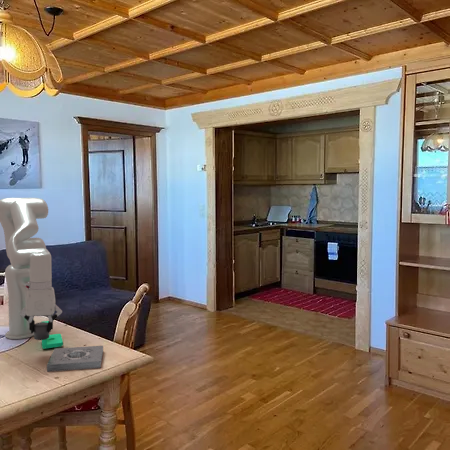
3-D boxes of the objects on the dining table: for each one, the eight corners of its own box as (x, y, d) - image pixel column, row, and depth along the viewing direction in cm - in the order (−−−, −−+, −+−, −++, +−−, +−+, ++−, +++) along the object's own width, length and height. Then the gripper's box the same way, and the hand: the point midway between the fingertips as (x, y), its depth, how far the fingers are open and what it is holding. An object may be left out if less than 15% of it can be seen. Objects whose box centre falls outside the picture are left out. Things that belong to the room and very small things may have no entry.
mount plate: (54, 354, 170) (54, 348, 170) (103, 351, 174) (103, 345, 174) (47, 371, 155) (47, 364, 155) (100, 367, 159) (100, 361, 158)
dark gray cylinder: (35, 334, 171) (35, 322, 170) (50, 334, 172) (50, 322, 171) (32, 340, 165) (32, 327, 165) (47, 339, 166) (47, 327, 166)
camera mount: (63, 348, 177) (62, 323, 177) (42, 351, 174) (41, 326, 173) (60, 339, 188) (60, 315, 187) (41, 341, 185) (40, 317, 184)
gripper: (13, 288, 160) (14, 336, 162) (63, 287, 164) (63, 334, 166) (18, 282, 167) (19, 328, 169) (66, 282, 171) (66, 327, 173)
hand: (41, 331), depth 168 cm, fingers closed on dark gray cylinder, 5 cm apart
